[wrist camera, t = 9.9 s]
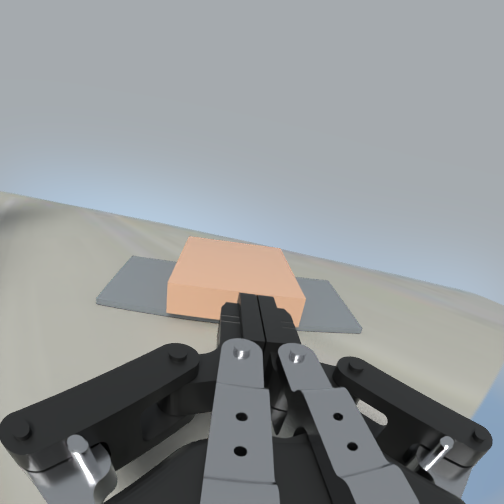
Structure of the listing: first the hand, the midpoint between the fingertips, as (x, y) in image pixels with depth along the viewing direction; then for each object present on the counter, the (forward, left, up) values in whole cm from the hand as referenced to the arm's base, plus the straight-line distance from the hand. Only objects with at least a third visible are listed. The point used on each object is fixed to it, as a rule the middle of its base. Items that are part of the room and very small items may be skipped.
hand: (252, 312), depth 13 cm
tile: (+4, +6, -4) cm, 8 cm away
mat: (+7, +11, -6) cm, 14 cm away
